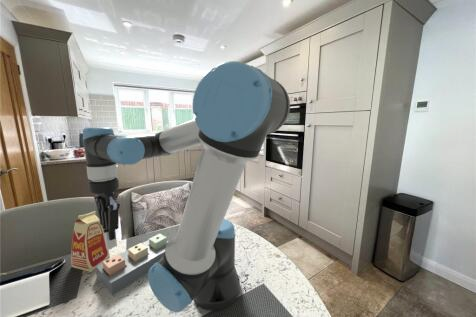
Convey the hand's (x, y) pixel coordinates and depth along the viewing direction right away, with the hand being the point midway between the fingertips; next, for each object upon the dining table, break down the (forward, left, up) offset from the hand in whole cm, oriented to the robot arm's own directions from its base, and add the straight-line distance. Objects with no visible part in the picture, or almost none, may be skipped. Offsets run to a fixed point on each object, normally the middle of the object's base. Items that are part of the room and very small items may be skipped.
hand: (111, 246), depth 64 cm
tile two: (0, -8, -8) cm, 11 cm away
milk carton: (+17, +1, -12) cm, 21 cm away
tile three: (0, 0, -8) cm, 8 cm away
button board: (0, -8, -12) cm, 15 cm away
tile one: (0, -16, -8) cm, 18 cm away
